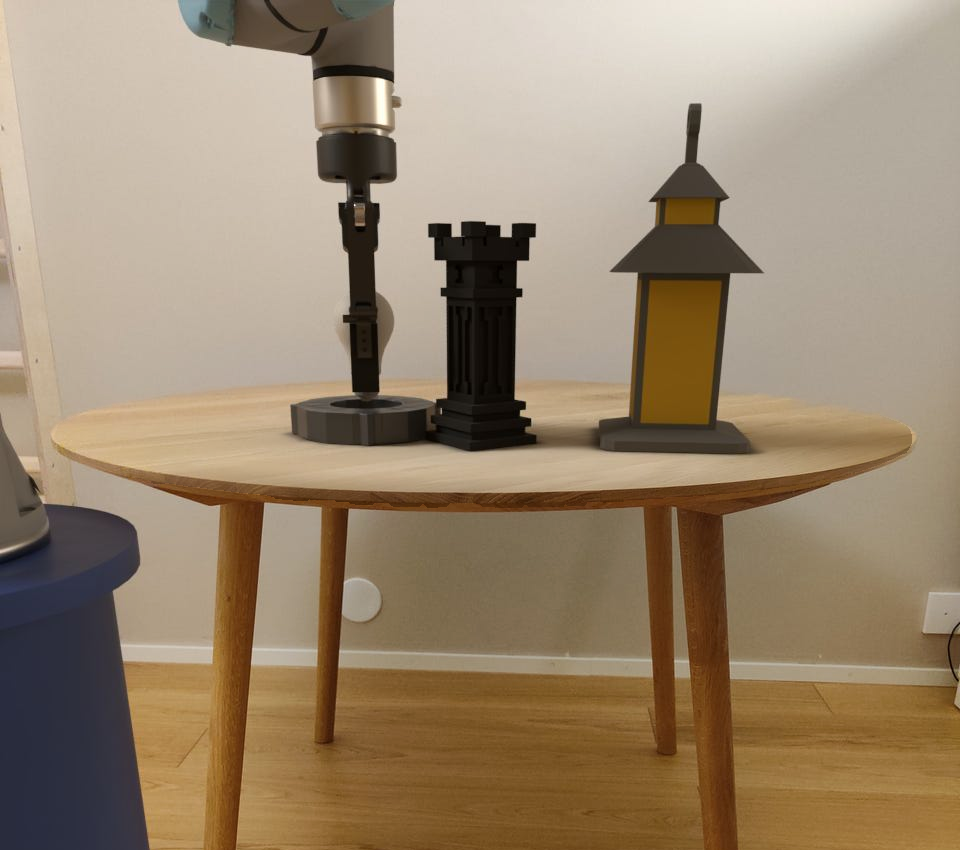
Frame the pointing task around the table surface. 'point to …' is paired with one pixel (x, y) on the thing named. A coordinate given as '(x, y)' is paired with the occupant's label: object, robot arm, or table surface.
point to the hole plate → (363, 419)
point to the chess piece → (481, 335)
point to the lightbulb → (384, 331)
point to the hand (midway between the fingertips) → (365, 387)
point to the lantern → (680, 318)
